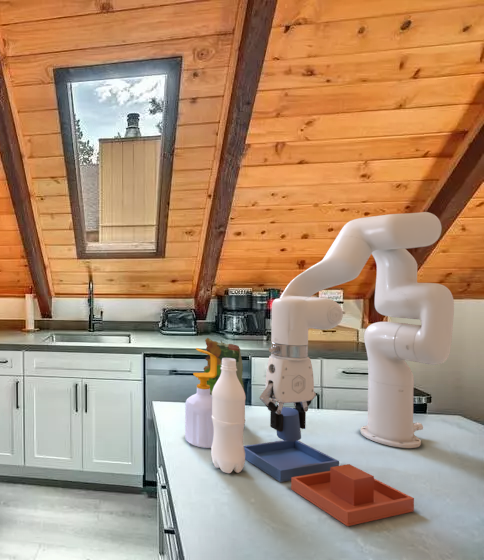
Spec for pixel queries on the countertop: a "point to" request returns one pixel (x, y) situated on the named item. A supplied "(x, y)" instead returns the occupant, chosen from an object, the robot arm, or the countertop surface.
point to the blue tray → (288, 459)
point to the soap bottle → (201, 409)
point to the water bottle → (228, 419)
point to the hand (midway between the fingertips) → (287, 427)
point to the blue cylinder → (290, 425)
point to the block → (352, 484)
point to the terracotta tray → (320, 495)
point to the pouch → (221, 352)
